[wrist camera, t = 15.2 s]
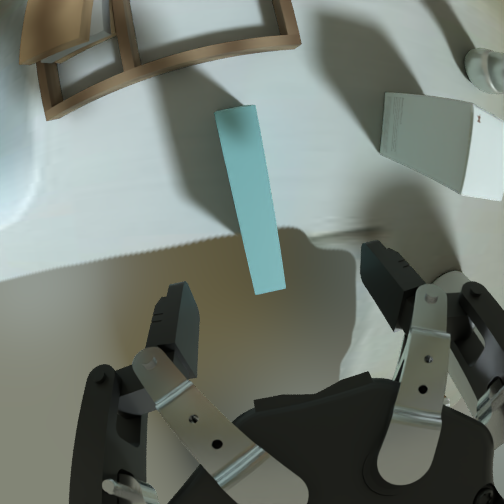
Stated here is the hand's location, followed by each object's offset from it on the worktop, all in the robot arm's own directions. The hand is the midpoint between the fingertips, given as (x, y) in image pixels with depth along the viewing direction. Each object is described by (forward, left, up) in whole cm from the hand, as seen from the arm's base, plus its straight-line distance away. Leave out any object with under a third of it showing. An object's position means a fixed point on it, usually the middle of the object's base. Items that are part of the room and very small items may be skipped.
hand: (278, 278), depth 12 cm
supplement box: (-19, -3, -17) cm, 25 cm away
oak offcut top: (+13, -26, -13) cm, 32 cm away
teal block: (0, 0, -16) cm, 16 cm away
